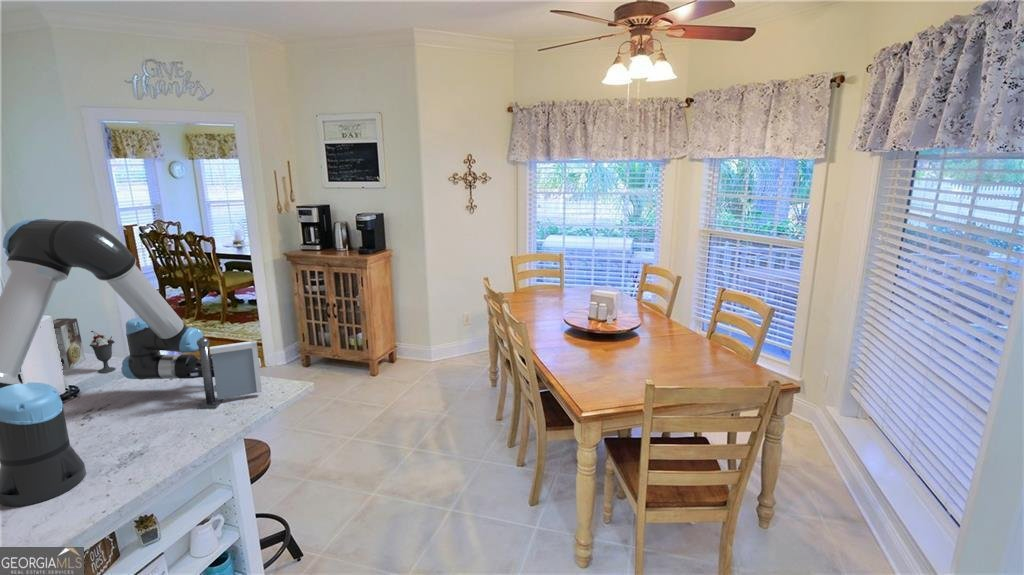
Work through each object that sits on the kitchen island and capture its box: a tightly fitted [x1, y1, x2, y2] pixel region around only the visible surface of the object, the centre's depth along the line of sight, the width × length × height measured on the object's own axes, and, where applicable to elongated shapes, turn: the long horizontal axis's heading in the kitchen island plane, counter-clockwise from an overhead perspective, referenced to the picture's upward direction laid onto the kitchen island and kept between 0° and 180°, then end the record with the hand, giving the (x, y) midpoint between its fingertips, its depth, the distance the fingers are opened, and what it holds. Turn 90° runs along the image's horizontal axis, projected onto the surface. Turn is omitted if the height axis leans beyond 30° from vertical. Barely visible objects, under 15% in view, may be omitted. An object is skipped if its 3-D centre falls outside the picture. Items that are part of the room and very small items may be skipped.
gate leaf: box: [209, 340, 263, 400], centre depth 157 cm, size 12×2×17 cm, turn 120°
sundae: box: [89, 330, 116, 374], centre depth 176 cm, size 7×7×15 cm
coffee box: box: [52, 317, 86, 371], centre depth 180 cm, size 9×6×16 cm
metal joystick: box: [197, 336, 224, 410], centre depth 153 cm, size 5×5×22 cm
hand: (256, 365), depth 163 cm, fingers open, 5 cm apart
